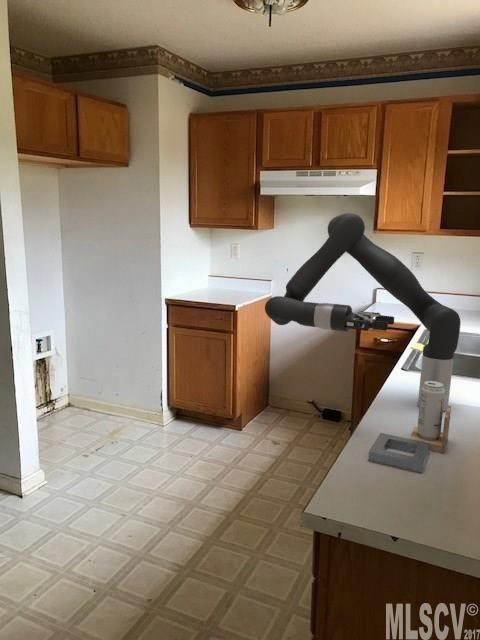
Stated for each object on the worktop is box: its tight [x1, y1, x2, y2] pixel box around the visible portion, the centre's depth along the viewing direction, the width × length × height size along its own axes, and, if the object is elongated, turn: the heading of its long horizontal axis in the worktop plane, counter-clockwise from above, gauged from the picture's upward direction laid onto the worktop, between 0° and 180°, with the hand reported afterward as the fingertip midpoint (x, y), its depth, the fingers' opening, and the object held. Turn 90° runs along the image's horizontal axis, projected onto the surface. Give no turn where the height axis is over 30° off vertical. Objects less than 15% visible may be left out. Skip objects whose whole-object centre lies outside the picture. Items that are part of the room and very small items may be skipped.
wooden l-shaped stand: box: [408, 405, 452, 454], centre depth 142 cm, size 9×9×10 cm
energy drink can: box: [417, 381, 445, 440], centre depth 141 cm, size 6×6×15 cm
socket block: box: [368, 432, 430, 474], centre depth 135 cm, size 13×13×2 cm
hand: (390, 323), depth 142 cm, fingers open, 8 cm apart
